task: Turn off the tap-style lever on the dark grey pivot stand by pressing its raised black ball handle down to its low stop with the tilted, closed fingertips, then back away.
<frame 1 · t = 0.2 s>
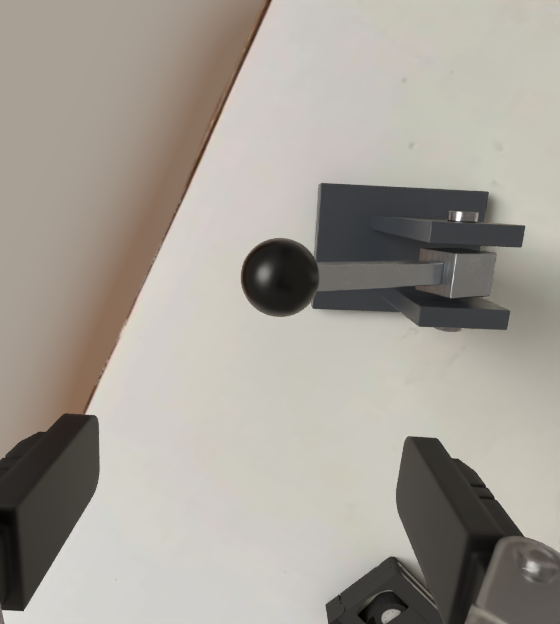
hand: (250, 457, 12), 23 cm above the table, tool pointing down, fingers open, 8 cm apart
vhs tape: (405, 623, 42), on the table
tap lever: (375, 274, 20), point 13 cm above the table, hinge at 25.0°
dark grey pivot stand: (393, 250, 33), on the table
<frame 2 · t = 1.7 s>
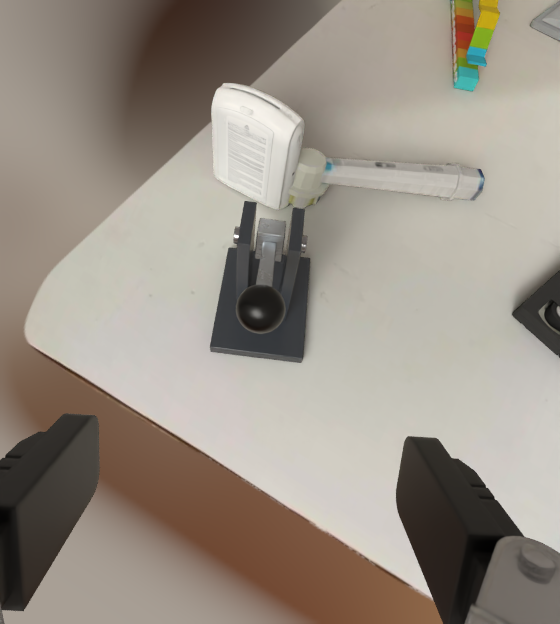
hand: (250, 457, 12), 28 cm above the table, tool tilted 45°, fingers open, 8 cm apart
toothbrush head: (373, 196, 56), on the table, touching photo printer
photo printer: (253, 188, 54), on the table, touching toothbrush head
tap lever: (266, 270, 33), point 13 cm above the table, hinge at 25.0°
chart: (459, 36, 76), on the table
dark grey pivot stand: (262, 305, 46), on the table
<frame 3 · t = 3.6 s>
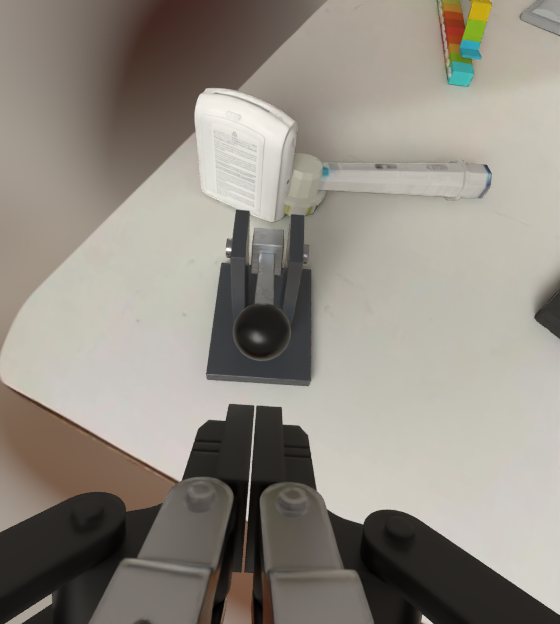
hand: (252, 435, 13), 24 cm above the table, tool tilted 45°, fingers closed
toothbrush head: (374, 201, 52), on the table, touching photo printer
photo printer: (245, 201, 50), on the table, touching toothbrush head
tap lever: (265, 286, 28), point 13 cm above the table, hinge at 25.0°
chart: (448, 33, 73), on the table
dark grey pivot stand: (262, 324, 42), on the table
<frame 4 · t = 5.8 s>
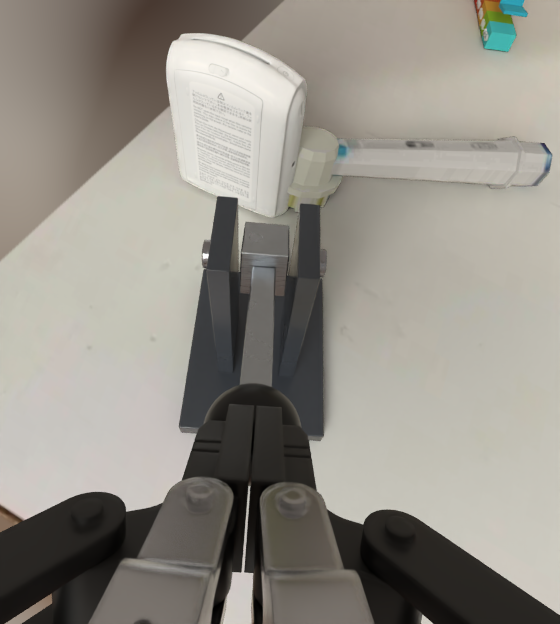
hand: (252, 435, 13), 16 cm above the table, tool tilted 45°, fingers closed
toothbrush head: (401, 190, 41), on the table, touching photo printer
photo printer: (237, 190, 39), on the table, touching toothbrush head
tap lever: (259, 329, 18), point 13 cm above the table, hinge at 18.8°, touching gripper
dark grey pivot stand: (257, 352, 31), on the table
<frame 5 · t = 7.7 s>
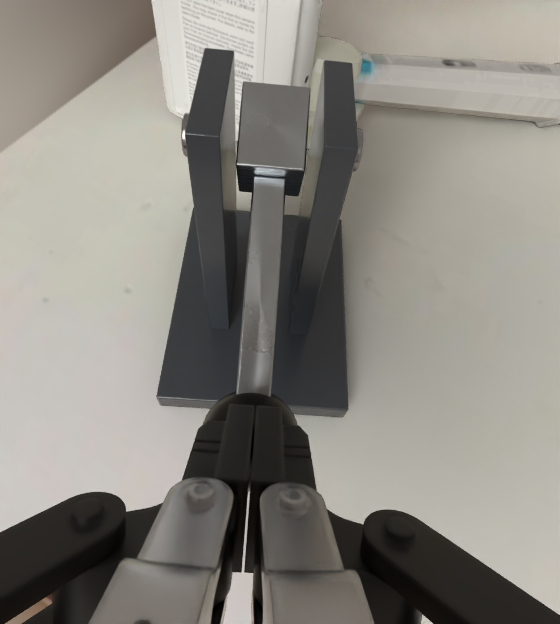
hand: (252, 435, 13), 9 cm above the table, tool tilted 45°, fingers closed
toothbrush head: (432, 128, 34), on the table, touching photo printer
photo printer: (236, 126, 32), on the table, touching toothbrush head
tap lever: (261, 289, 15), point 9 cm above the table, hinge at -25.7°, touching gripper
dark grey pivot stand: (260, 307, 25), on the table
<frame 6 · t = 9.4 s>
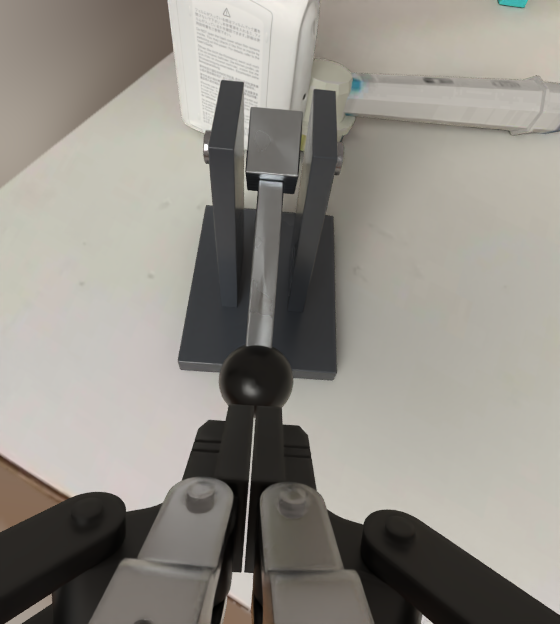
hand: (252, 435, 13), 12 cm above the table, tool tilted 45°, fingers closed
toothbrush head: (416, 137, 39), on the table, touching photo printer
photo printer: (242, 136, 37), on the table, touching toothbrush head
tap lever: (264, 267, 19), point 9 cm above the table, hinge at -28.5°
dark grey pivot stand: (263, 290, 29), on the table
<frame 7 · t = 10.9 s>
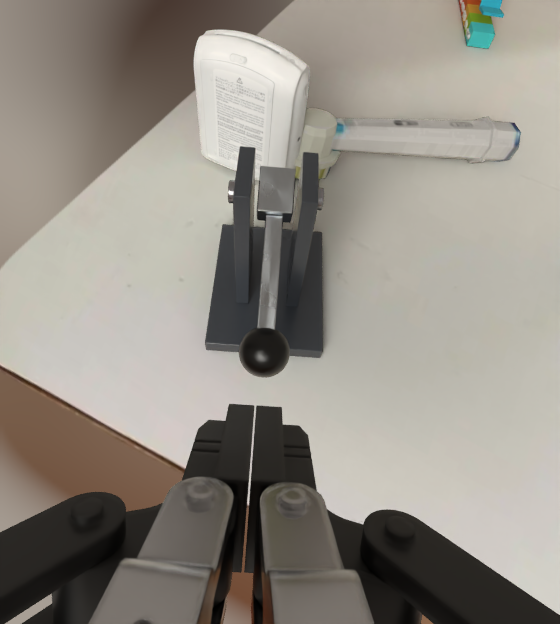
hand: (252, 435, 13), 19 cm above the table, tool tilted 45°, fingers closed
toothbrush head: (391, 165, 47), on the table, touching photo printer
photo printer: (250, 165, 46), on the table, touching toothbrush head
tap lever: (270, 274, 28), point 9 cm above the table, hinge at -28.5°
dark grey pivot stand: (268, 290, 38), on the table
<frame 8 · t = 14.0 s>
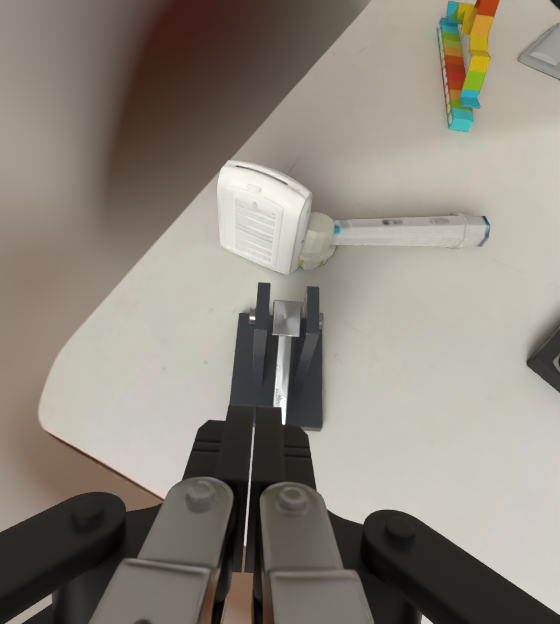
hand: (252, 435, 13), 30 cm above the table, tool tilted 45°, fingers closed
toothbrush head: (381, 250, 56), on the table, touching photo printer
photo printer: (260, 253, 54), on the table, touching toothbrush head
tap lever: (281, 380, 36), point 9 cm above the table, hinge at -28.5°
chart: (449, 75, 77), on the table
dark grey pivot stand: (277, 371, 46), on the table
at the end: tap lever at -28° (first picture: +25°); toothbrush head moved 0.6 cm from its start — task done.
